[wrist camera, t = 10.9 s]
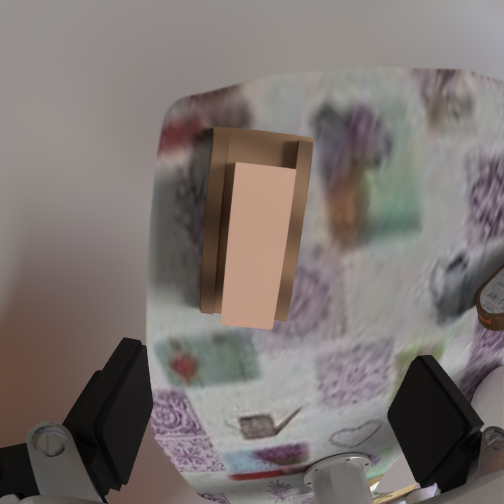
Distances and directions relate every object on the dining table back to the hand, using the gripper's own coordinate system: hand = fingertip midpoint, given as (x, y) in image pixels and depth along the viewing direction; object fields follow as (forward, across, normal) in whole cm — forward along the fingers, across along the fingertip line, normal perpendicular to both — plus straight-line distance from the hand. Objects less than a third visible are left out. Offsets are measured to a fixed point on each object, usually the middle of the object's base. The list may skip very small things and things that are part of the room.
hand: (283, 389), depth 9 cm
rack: (+20, +1, -1) cm, 20 cm away
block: (+19, +1, -1) cm, 19 cm away
